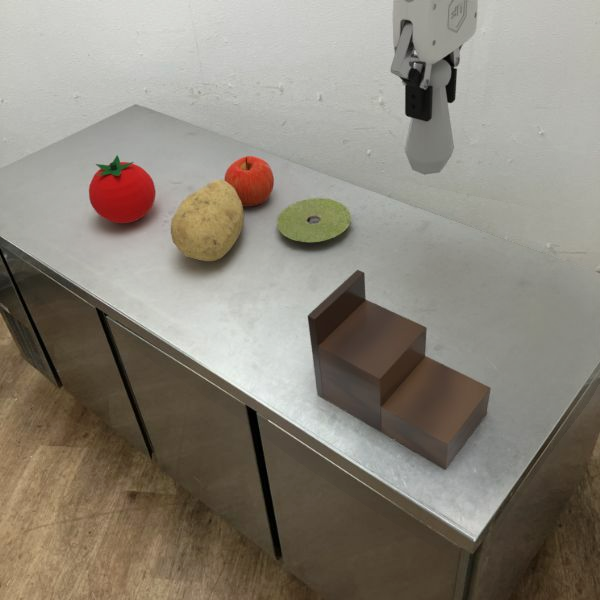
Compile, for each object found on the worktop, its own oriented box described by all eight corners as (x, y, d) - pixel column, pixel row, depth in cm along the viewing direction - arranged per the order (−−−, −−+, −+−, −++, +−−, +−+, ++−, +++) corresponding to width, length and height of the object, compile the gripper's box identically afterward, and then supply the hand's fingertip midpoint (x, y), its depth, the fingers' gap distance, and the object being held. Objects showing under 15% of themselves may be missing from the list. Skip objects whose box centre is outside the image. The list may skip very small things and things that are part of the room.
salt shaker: (460, 159, 80) (467, 55, 71) (440, 182, 77) (446, 76, 68) (416, 150, 83) (418, 49, 74) (396, 172, 79) (395, 69, 71)
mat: (363, 216, 100) (363, 206, 99) (331, 259, 94) (330, 248, 92) (300, 202, 105) (299, 191, 104) (265, 241, 98) (263, 231, 97)
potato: (160, 262, 97) (144, 209, 91) (224, 212, 105) (213, 161, 99) (209, 284, 92) (195, 231, 86) (272, 231, 100) (264, 178, 94)
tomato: (152, 191, 112) (136, 139, 105) (169, 221, 105) (154, 168, 98) (92, 211, 109) (73, 159, 102) (106, 243, 102) (86, 189, 95)
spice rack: (486, 413, 71) (499, 331, 63) (445, 469, 67) (453, 389, 58) (361, 349, 80) (357, 269, 71) (317, 395, 76) (307, 315, 67)
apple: (276, 184, 110) (270, 141, 104) (276, 211, 104) (270, 168, 98) (230, 188, 110) (221, 146, 105) (227, 216, 104) (218, 173, 99)
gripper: (421, -39, 56) (418, 149, 68) (513, -88, 65) (495, 86, 77) (352, -47, 60) (360, 132, 72) (447, -92, 69) (440, 74, 81)
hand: (430, 107), depth 75 cm, fingers closed on salt shaker, 4 cm apart
